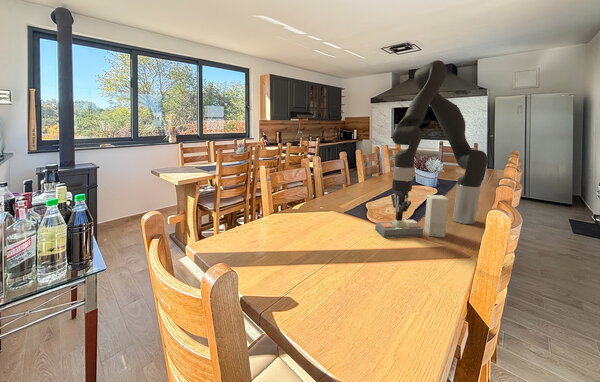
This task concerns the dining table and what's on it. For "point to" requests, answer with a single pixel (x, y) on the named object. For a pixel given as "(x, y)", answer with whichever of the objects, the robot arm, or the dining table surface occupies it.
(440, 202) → the skincare box
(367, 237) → the dining table surface
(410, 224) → the key ivory
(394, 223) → the key sage
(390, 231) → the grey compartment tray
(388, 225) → the key coral
